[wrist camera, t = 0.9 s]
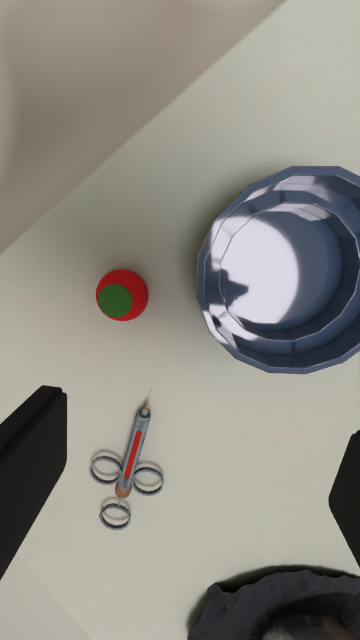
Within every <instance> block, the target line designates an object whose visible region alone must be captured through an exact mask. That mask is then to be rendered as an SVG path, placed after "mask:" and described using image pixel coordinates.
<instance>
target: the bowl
mask: <svg viewBox="0 0 360 640" xmlns="http://www.w3.org/2000/svg"><path fill="white" fill-rule="evenodd" d="M196 292H197V301H198V303H199V306H200V308H201V311H202V314H203V316H204V319H205V321H206V324H207V327H208V329H209V332H210V333H211V335H212V336H213V337H214V338H215V339H216V340H217V341H218V342H219V343H220V344H221V345H222V346H223V347H224V348H225V349H226V350H227V351H228V352H229V353H230V354H231V355H232V356H233V357H234V358H235V359H237V360H240V361H242V362H244V363H247V364H249V365H251V366H254V367H256V368H258V369H261V370H263V371H265V372H269V373H288V374H308V373H311V372H315V371H318V370H321V369H324V368H328V367H331V366H334V365H337V364H340V363H343V362H345V361H346V360H348V359H349V358H350V357H352V356H353V355H355V354H356V353H357V352H359V351H360V176H358V175H356V174H354V173H352V172H350V171H348V170H346V169H344V168H342V167H339V166H293V167H289V168H287V169H285V170H282V171H280V172H278V173H275V174H273V175H271V176H268V177H266V178H264V179H261V180H259V181H257V182H254V183H252V184H250V185H249V186H247V187H246V188H245V189H244V190H243V191H242V192H241V193H240V194H239V195H238V196H237V197H236V198H235V199H234V200H233V201H232V202H231V203H230V204H229V205H228V206H227V207H226V208H225V209H224V210H223V211H222V212H221V213H220V214H219V215H218V216H217V217H216V218H215V219H214V221H213V222H212V223H211V225H210V227H209V230H208V232H207V234H206V236H205V239H204V241H203V243H202V246H201V248H200V250H199V252H198V255H197V282H196Z"/></svg>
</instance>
